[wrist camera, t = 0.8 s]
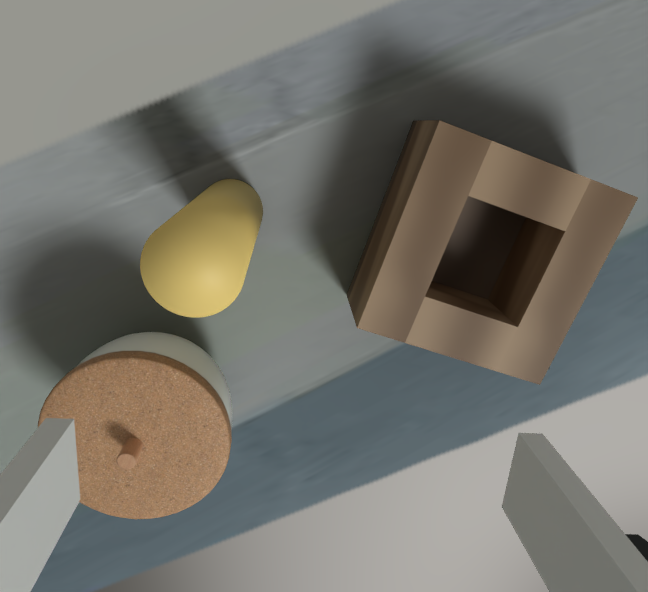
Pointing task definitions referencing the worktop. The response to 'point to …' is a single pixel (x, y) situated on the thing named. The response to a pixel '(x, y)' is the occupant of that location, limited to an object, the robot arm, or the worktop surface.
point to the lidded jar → (146, 424)
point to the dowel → (203, 250)
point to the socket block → (483, 251)
